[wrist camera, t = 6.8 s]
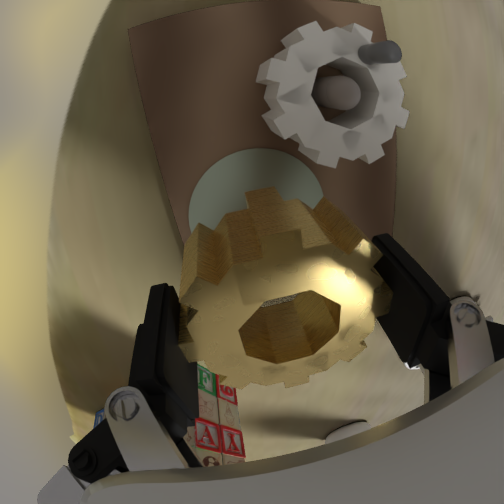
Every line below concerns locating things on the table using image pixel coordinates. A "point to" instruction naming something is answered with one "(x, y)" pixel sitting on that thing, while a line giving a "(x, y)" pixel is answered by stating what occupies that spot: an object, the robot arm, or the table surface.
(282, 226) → the brass gear
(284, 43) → the gear
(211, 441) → the stack of blocks
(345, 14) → the gear board
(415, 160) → the table surface
